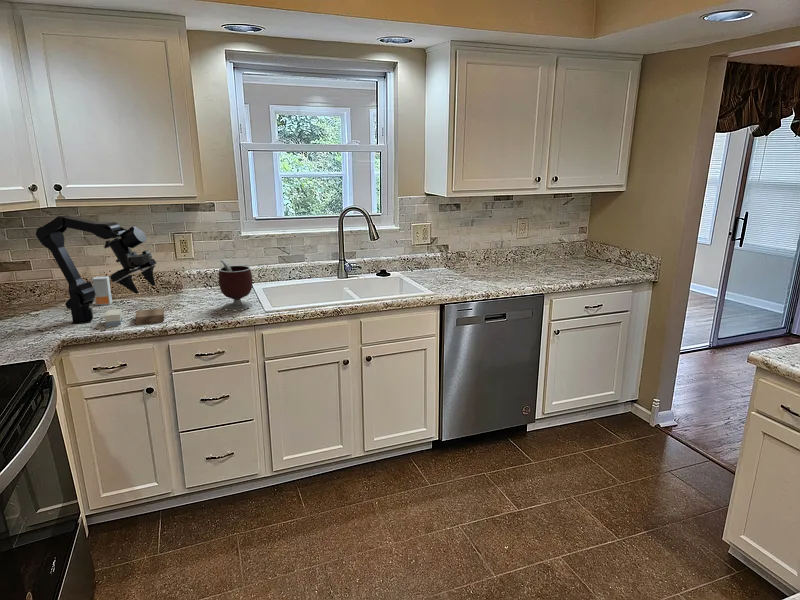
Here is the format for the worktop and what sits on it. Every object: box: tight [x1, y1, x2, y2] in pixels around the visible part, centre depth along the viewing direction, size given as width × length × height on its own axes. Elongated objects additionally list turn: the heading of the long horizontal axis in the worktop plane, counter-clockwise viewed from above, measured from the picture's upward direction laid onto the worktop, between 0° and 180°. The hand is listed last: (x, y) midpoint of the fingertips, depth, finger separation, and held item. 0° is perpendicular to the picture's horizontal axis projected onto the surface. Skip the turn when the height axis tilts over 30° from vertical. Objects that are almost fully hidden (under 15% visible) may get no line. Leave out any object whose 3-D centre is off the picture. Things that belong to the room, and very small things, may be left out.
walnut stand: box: [134, 307, 165, 326], centre depth 213 cm, size 10×10×3 cm
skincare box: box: [91, 275, 113, 306], centre depth 234 cm, size 6×4×12 cm
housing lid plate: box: [104, 308, 123, 322], centre depth 208 cm, size 5×8×2 cm, turn 23°
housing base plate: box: [104, 316, 123, 328], centre depth 208 cm, size 5×8×2 cm, turn 23°
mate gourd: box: [218, 259, 253, 311], centre depth 229 cm, size 16×14×20 cm
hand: (145, 289), depth 204 cm, fingers open, 9 cm apart
